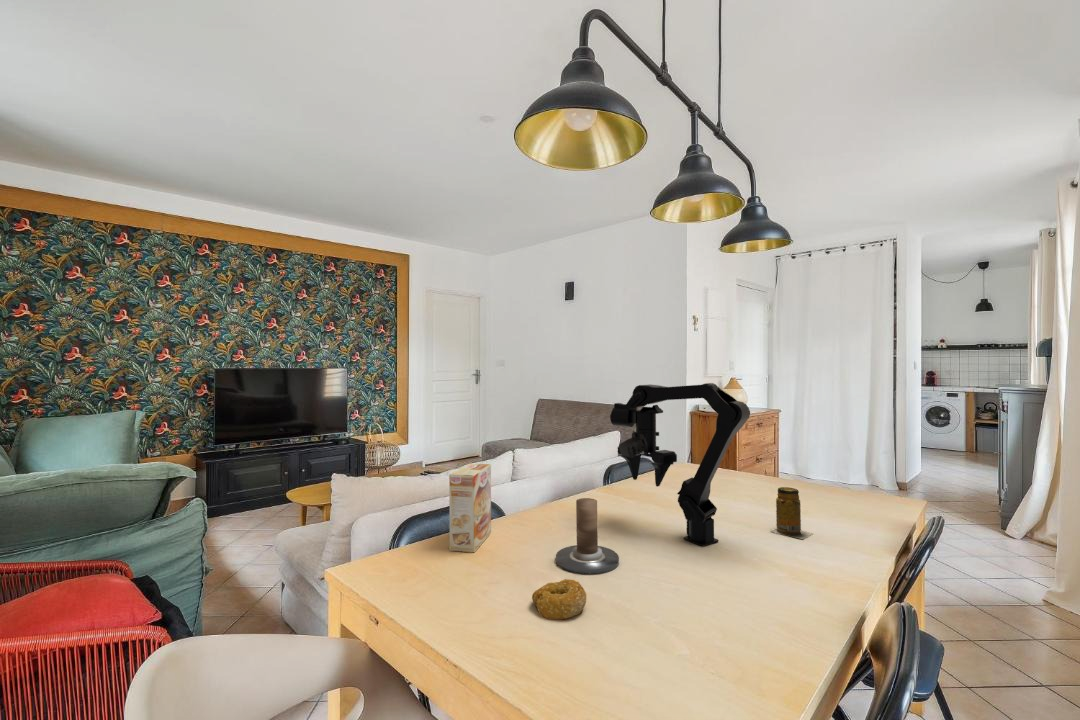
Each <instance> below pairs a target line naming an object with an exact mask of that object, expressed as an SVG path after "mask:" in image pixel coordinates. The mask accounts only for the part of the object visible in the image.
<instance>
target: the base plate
mask: <svg viewBox="0 0 1080 720" xmlns="http://www.w3.org/2000/svg"><path fill="white" fill-rule="evenodd" d="M575 547H577V544H575V545H570V546H566V547H563V548H561V549H559V550H558V551H557V552H556V554H555V563H556V565H557V566H558V567H559V568H560V569H562V570H564V571H566V572H569V573H573V574H576V575H578V574H579V575H601V574H605V573H609V572H612V571H614V570H616V569H617V568H618V567H619V564H620V556H619V554H618V553H617V552H616V551H615V550H613V549H611V548H608V547H606V546H601V545H598V547H599V548H601V550H602V558H600V559H599V560H596V561H581V560H577V559H575V558H574V557H573V548H575Z"/></svg>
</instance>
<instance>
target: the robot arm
mask: <svg viewBox="0 0 1080 720" xmlns="http://www.w3.org/2000/svg"><path fill="white" fill-rule="evenodd" d="M632 390H633V391H632V395H631V396H630V398H629V399H628V400H627V402H626V403H622V402H615V403H613V408H612V409H611V413H610V414H609V416H610V417H609V419H610V423H611V424H612V425H613V426H614V427H615V426H617V427H626V428H633V427H634V426H635V431H632V433H631V438H628V439H626V440H624V441H623V442H621V443H619V444H618V446H617V455H620V457H621V458H622V459H624V460H625V461H626V462H627V465H628V468H629V470H630V474H631V477H632V479H633V480H634V481H636V480H638V476H639V472H640V466H641V465H640V464H641V461H642V460H641V459H642V456H645V457H648V458H651V460H652V462H650V464H651V465H652V467H653V469H654V482H655V483H654V484H655V487H656V488H657V487H660V486H661V484H662V482H663V480H664V478H665V476H666V474H667V472H668V471H669V468H670V467H671V465H674V463H677V462H678V460H677V459H678V454H677V453H676V452H675V451H672V450H668V449H661V450H660V446H658V445H657V437H659V436H660V432H659V431H657V415H659V414H662V413H664V410H663V409H662V408H660V407H659V405H658V403H661V402H665V401H674V400H690V399H691V400H692V399H704V401H706V402H707V404H708V405H709V407H710V408H711V409H712V410H713V411H714V412H715V413H716V414H717V417H716V420H715V432H714V434H713V436H712V438H711V441H710V443H709V445H708V447H707V450H706V451H705V453H704V455H703V458H702V459H701V461H700V464H699V466H698V467H697V471H696V473H695V474H694V476H693V477H692V476H691V477H690V478H688V479H686V480H683V481H682V483H681V487H680V489H679V491H678V492H677V493H676V495H678V497H677V503H678V505H679V507H680V509H681V510H682V513H683V516H684V518H685V520H686V536H683V540H685V541H688V542H690V543H693V544H695V545H698V546H700V547H704V546H708V545H711V544H716V543H718V542H719V539H717V538H715V520H714V518H712V517H714V516H716V512H717V510H718V508H717V507H716V505H715V504H714V503H713V502H712V501H711V499H709V498H710V494H711V483H712V481H713V478H714V477H715V475H716V473H717V470H718V468H719V466H720V464H721V463H722V460H723V458H724V456H725V454H726V452H727V450H728V448H729V447H730V444H731V442H732V440H733V438H734V437H735V435H736V434H737V433H738V432H740V430H741V429H742V428H743V426H744V425H746V422H747V421H748V420H749V418H750V416H751V410H750V408H749V406H748V405H747V404H746V403H745V402H744V401H739V400H737V399H736V398H735V397H733V396H732V395H730V394H729V393H727V392H726V391H724V390H723V389H722V388H720V387H719V386H718V385H717V384H715V383H713V382H708V383H702V384H692V385H679V386H678V385H677V386H664V385H659V384H640V385H636V386H635V387H634V389H632ZM647 405H652V406H647ZM638 408H641V409H638Z"/></svg>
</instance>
